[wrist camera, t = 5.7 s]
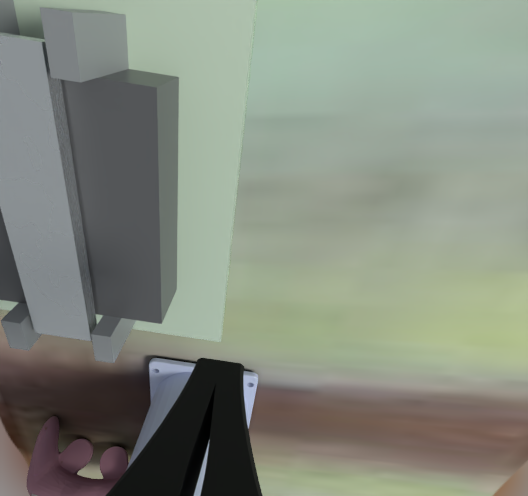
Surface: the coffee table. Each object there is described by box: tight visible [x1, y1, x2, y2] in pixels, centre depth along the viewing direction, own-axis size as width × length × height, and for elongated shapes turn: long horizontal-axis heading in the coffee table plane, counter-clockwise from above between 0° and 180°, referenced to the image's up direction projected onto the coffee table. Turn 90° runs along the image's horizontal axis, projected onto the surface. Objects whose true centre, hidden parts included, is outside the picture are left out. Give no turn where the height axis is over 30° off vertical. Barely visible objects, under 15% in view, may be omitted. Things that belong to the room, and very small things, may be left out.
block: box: [0, 32, 97, 341], centre depth 16 cm, size 14×3×1 cm, turn 172°
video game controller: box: [27, 416, 129, 496], centre depth 31 cm, size 10×5×7 cm, turn 75°
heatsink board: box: [0, 0, 257, 363], centre depth 17 cm, size 20×16×5 cm
